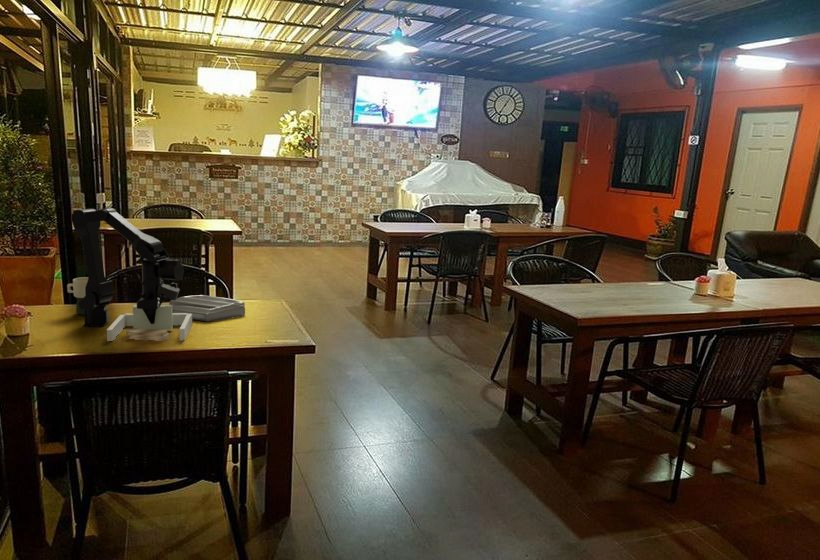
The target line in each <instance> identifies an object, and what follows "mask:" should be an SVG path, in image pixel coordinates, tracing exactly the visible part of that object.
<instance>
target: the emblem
mask: <svg viewBox="0 0 820 560" xmlns="http://www.w3.org/2000/svg"><path fill="white" fill-rule="evenodd" d="M168 305H172V313H192V321H199V322H206V323H207V322H214V320H216V321H222V320H221V319H223V320H228V319H227V318H229V319H233V318H232V317H234V318H238V317H237V316H240V317H243V316H242V315H245V316H246V307H245V302H244V301H241V300H237V299H233V298H227V297H220V296H213V295H204V294H199V295H187V296H185V295H184V296H180V297H177V298H176V300H171V299H170V301H169V303H168Z"/></svg>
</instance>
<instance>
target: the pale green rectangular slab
mask: <svg viewBox="0 0 820 560" xmlns="http://www.w3.org/2000/svg"><path fill="white" fill-rule="evenodd" d="M132 314H133V326H132V328H137V329H156V330H167V331H169V330H173V328H174V327H173V326H174V325H173V315H172V305H169V304H168V305H167V304H161V305H160V307H159V308H157V310H156V316H155V322H154V324H151V323H150V322H149V320H148V318H147V316H146V314H145V313H144V311H143V309H137V304H134V305H133V306H132Z"/></svg>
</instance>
